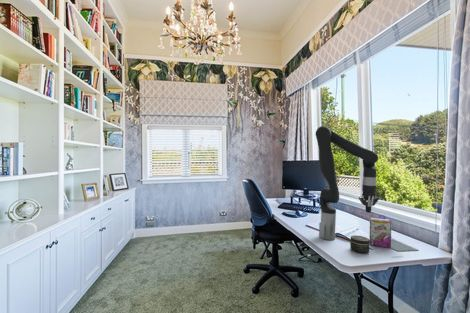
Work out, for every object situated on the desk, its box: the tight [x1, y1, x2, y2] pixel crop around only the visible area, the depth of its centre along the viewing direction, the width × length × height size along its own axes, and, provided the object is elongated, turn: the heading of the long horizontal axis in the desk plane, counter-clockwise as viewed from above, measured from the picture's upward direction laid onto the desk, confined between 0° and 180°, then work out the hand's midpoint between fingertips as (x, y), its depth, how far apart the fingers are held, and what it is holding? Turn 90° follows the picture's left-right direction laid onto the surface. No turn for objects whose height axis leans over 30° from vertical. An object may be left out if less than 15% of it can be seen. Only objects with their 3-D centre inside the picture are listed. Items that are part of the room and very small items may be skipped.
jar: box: [349, 234, 371, 255], centre depth 136 cm, size 10×10×8 cm
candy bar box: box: [368, 217, 392, 249], centre depth 146 cm, size 11×5×16 cm, turn 65°
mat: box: [390, 238, 419, 253], centre depth 148 cm, size 15×18×1 cm
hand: (368, 212), depth 144 cm, fingers closed
